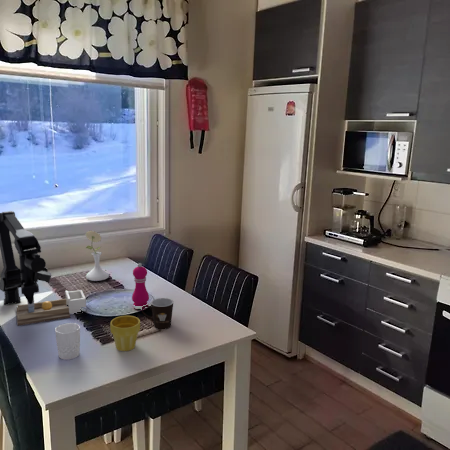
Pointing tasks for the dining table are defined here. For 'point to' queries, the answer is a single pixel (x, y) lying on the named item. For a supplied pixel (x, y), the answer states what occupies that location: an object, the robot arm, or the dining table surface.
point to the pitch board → (42, 312)
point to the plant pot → (125, 332)
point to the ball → (46, 305)
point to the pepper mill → (140, 286)
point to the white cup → (68, 340)
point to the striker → (31, 306)
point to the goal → (75, 300)
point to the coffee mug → (161, 312)
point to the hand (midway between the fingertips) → (30, 302)
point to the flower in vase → (96, 259)
